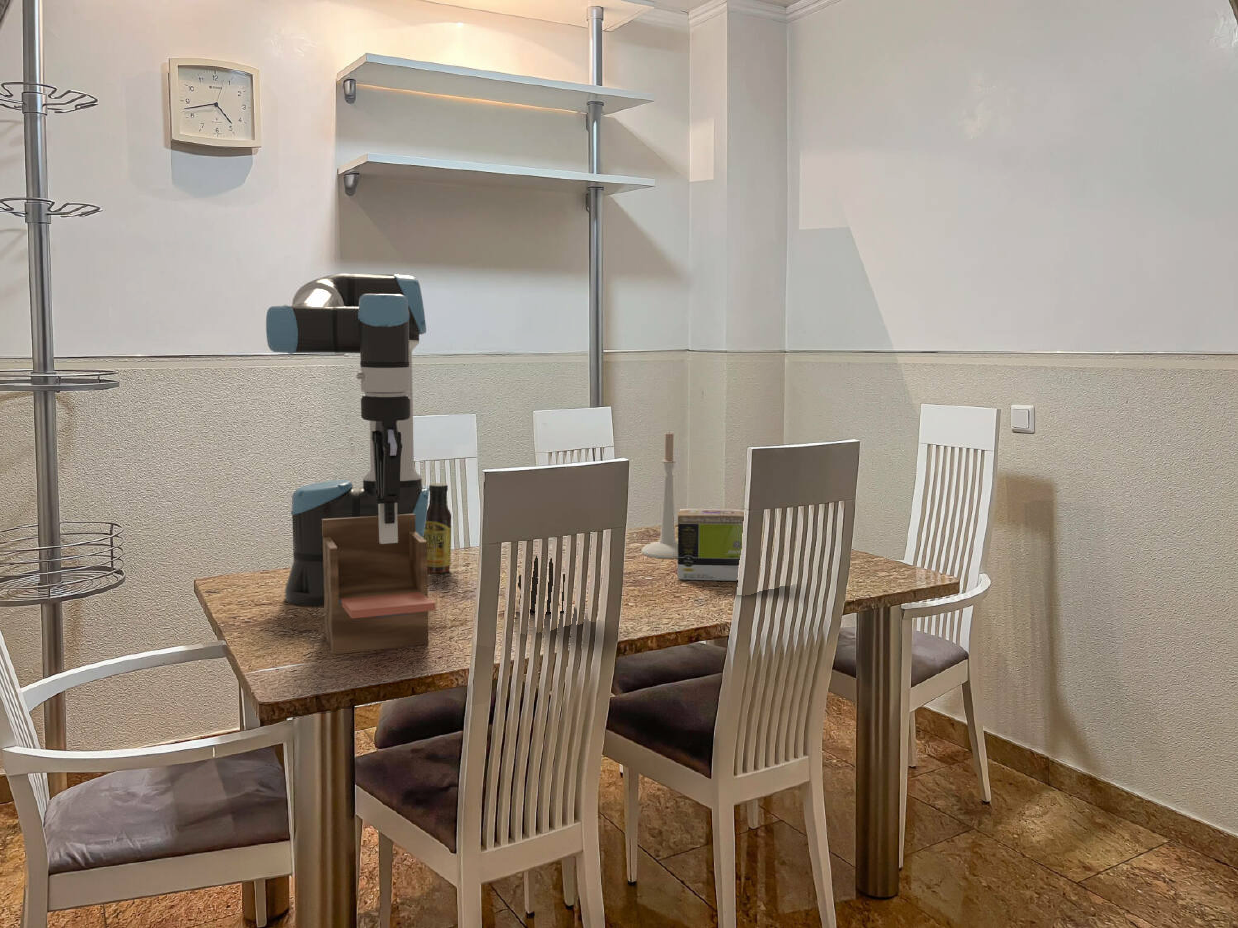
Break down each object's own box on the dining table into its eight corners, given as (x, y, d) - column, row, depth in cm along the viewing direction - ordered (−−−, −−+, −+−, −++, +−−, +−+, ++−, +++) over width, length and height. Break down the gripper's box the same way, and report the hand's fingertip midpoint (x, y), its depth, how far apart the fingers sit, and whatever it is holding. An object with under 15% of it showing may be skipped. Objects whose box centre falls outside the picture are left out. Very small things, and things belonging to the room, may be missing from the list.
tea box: (744, 572, 230) (746, 508, 228) (745, 582, 220) (747, 515, 218) (678, 569, 232) (679, 506, 230) (676, 580, 222) (677, 513, 220)
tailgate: (339, 598, 168) (349, 610, 156) (420, 591, 173) (437, 602, 161) (339, 608, 168) (350, 621, 156) (421, 601, 173) (437, 613, 161)
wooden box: (325, 636, 179) (321, 519, 176) (415, 626, 185) (413, 513, 182) (332, 654, 169) (329, 530, 166) (428, 644, 175) (426, 524, 172)
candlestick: (704, 553, 249) (706, 431, 245) (668, 561, 240) (670, 435, 236) (666, 545, 258) (668, 427, 254) (630, 552, 249) (632, 430, 245)
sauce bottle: (417, 573, 226) (416, 485, 223) (431, 567, 231) (430, 481, 229) (443, 575, 223) (442, 486, 221) (457, 569, 229) (456, 483, 227)
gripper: (354, 391, 162) (358, 535, 166) (367, 398, 150) (371, 553, 154) (401, 390, 165) (404, 532, 169) (418, 397, 153) (420, 549, 157)
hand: (388, 542), depth 161 cm, fingers closed
